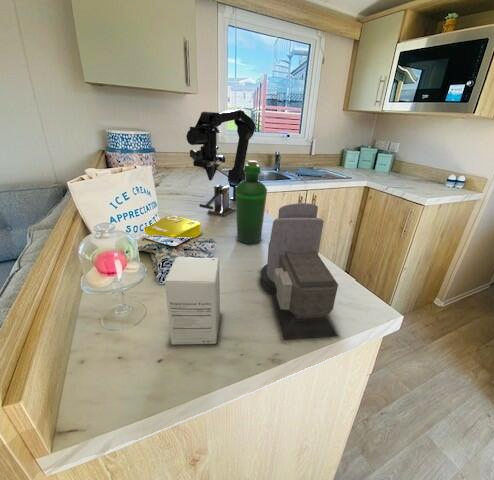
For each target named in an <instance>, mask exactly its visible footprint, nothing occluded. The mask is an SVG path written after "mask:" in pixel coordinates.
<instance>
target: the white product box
mask: <svg viewBox="0 0 494 480" xmlns="http://www.w3.org/2000/svg"><path fill="white" fill-rule="evenodd" d="M220 285H221V283H220V258H219V257H190V256H176V257H175V258H174V261H173V262H172V265H171V267H170V269H169V271H168V273H167V275H166V277H165V279H164V288H165V297H166V306H167V316H168V325H169V333H170V343H171V345H216V344H217V343H218V333H219V325H220V317H221V298H220V297H221V296H220V295H221V294H220V291H221V290H220Z"/></svg>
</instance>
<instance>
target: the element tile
mask: <svg viewBox="0 0 494 480" xmlns="http://www.w3.org/2000/svg"><path fill="white" fill-rule="evenodd" d="M159 219H160V220H159ZM159 219H158V220H159V221H158V222H156V223H154V224H152V225H150V226H148V227H145V228H144V229H145V232H146V234H148V235H163V236H168V237H192V238H193V239H195V238H196V237H198V236H200V235H201V234H202V230H201V229H202V228H201V227H202V225H201V222H200V221H196V220H191V219H189V218H185V217H181V216H177V215H173V214H171V215H168V216H165V217H162V218H159Z"/></svg>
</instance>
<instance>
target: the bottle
mask: <svg viewBox="0 0 494 480" xmlns="http://www.w3.org/2000/svg"><path fill="white" fill-rule="evenodd" d="M258 162H259V161H258V160H254V159H253V160H251V159H249V160H247V163H246V164H244V172H245V180H243V181H242V182H240V183H239V184H238V185H237V187H236V188H235V189H236V200H235V212H236V237H237V240H238V241H239V242H241V243H243V244H248V245H251V244H256V243H259V242H260V241H262V240H261V239H262V235H263V234H262V233H263V225H264V220H265V219H264V217H265V210H266V202H267V194H268V189H267V186H266V185H265V184H264V183H262V182H261V181H260V180H259V174H261V166H260V165H259V164H258Z"/></svg>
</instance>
